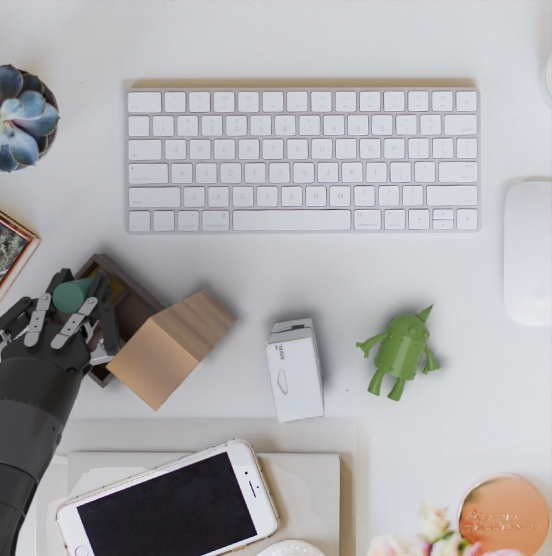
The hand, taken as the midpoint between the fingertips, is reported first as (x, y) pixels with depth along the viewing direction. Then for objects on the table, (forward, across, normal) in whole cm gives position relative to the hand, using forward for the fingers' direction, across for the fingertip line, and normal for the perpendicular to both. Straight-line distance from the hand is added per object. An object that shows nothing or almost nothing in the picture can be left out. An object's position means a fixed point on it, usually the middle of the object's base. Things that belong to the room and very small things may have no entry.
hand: (85, 275), depth 61 cm
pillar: (+1, -12, +8) cm, 15 cm away
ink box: (-1, -24, +11) cm, 26 cm away
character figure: (+1, -35, +9) cm, 37 cm away
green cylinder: (+1, 0, +4) cm, 4 cm away
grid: (+1, 0, +9) cm, 9 cm away
